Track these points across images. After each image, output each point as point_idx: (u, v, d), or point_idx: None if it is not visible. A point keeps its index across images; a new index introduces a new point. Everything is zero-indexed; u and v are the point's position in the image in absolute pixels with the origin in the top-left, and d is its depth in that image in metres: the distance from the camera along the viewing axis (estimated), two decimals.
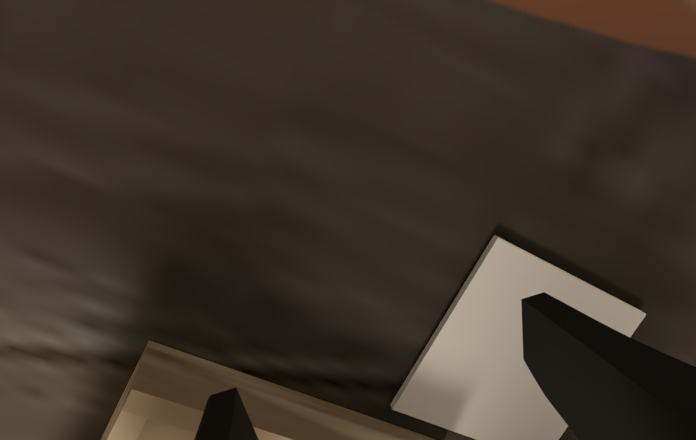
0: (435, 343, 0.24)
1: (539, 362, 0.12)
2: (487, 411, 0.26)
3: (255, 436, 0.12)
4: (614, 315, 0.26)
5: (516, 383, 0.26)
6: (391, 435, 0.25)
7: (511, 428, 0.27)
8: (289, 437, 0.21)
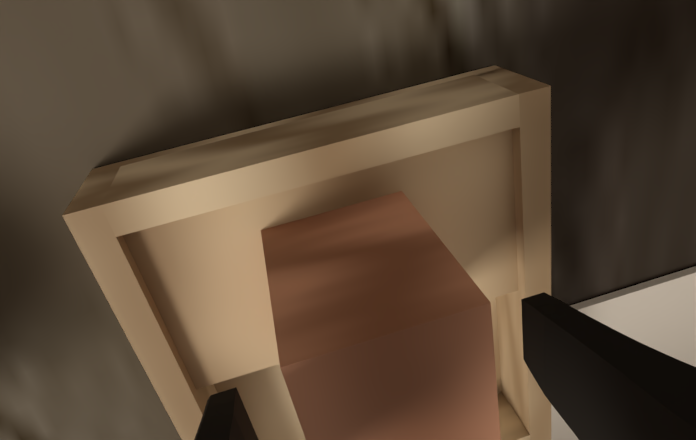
0: (613, 300, 0.24)
1: (539, 362, 0.12)
2: None
3: (255, 436, 0.12)
4: None
5: None
6: None
7: (558, 415, 0.27)
8: (550, 268, 0.18)
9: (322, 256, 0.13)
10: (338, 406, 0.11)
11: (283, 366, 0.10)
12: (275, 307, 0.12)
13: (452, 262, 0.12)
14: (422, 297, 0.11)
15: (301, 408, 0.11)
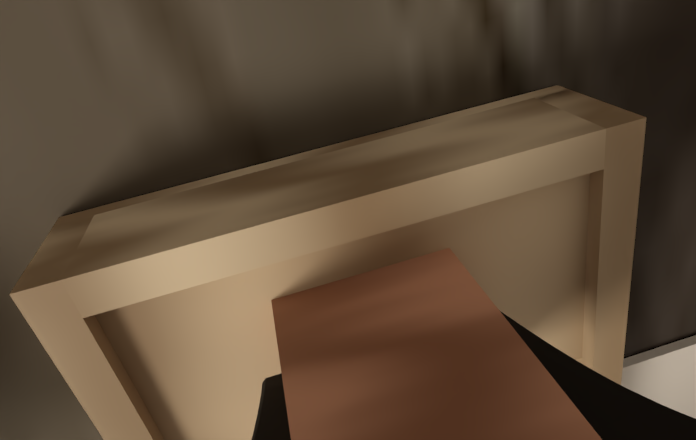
0: (676, 352, 0.20)
1: None
2: None
3: None
4: None
5: None
6: None
7: None
8: (624, 333, 0.15)
9: (355, 348, 0.10)
10: None
11: None
12: (295, 436, 0.09)
13: (539, 371, 0.09)
14: (506, 435, 0.08)
15: None
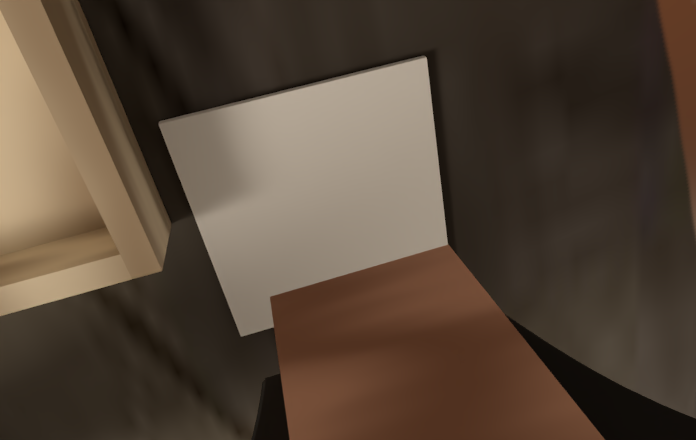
0: (272, 99, 0.18)
1: None
2: (246, 229, 0.20)
3: None
4: (430, 248, 0.23)
5: (298, 229, 0.21)
6: (131, 146, 0.17)
7: (250, 271, 0.21)
8: None
9: (353, 345, 0.10)
10: None
11: None
12: (293, 432, 0.08)
13: (538, 367, 0.09)
14: (505, 431, 0.08)
15: None
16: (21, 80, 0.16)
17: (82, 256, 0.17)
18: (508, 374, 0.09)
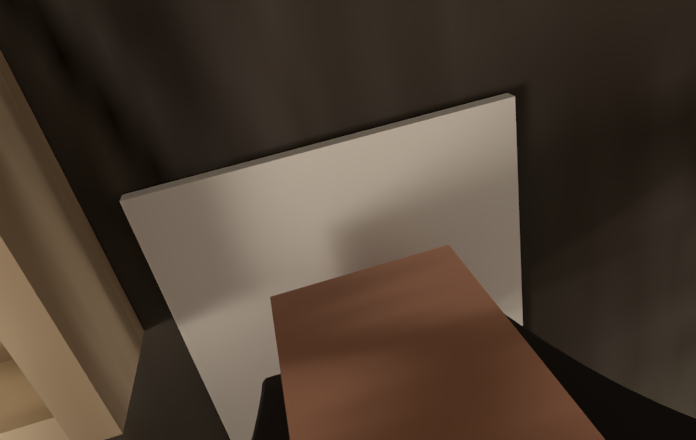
0: (290, 162, 0.12)
1: None
2: (250, 337, 0.14)
3: None
4: None
5: None
6: (76, 237, 0.11)
7: (256, 388, 0.15)
8: None
9: (354, 345, 0.10)
10: None
11: None
12: (294, 432, 0.08)
13: (539, 367, 0.09)
14: (506, 431, 0.08)
15: None
16: None
17: None
18: (508, 374, 0.09)
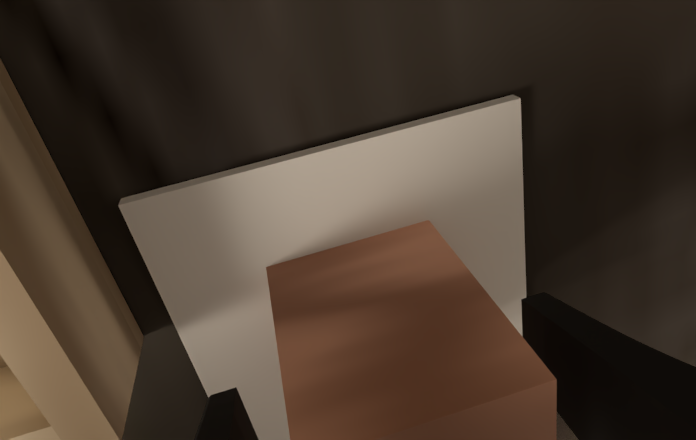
0: (291, 165, 0.12)
1: None
2: (251, 342, 0.14)
3: (255, 436, 0.12)
4: None
5: None
6: (74, 242, 0.11)
7: (257, 394, 0.15)
8: None
9: (340, 304, 0.11)
10: None
11: None
12: (285, 375, 0.10)
13: (500, 319, 0.10)
14: (468, 368, 0.09)
15: None
16: None
17: None
18: (474, 324, 0.10)
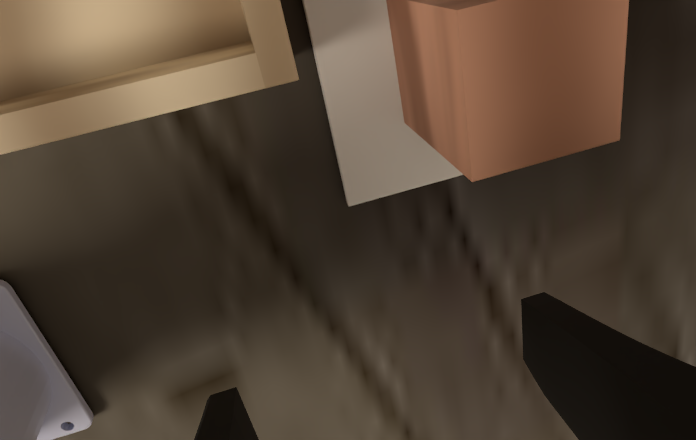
0: None
1: (539, 362, 0.12)
2: (367, 69, 0.18)
3: (255, 436, 0.12)
4: None
5: None
6: None
7: (366, 124, 0.19)
8: None
9: None
10: (496, 66, 0.13)
11: (459, 10, 0.12)
12: (430, 3, 0.14)
13: None
14: None
15: (466, 63, 0.12)
16: None
17: (208, 60, 0.14)
18: None
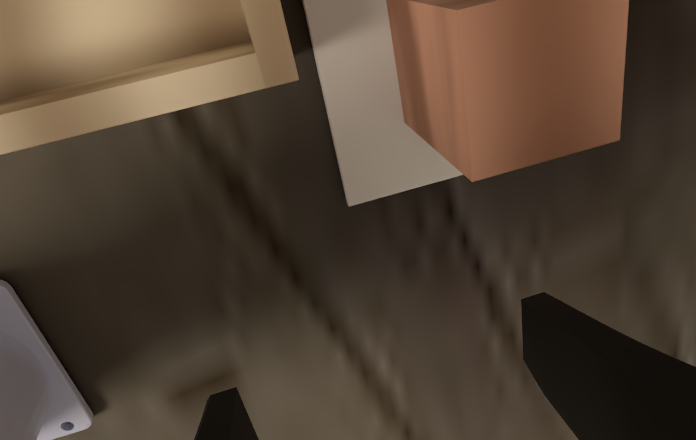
0: None
1: (539, 362, 0.12)
2: (367, 69, 0.18)
3: (255, 436, 0.12)
4: None
5: None
6: None
7: (366, 124, 0.19)
8: None
9: None
10: (496, 66, 0.13)
11: (459, 10, 0.12)
12: (430, 3, 0.14)
13: None
14: None
15: (466, 63, 0.12)
16: None
17: (208, 60, 0.14)
18: None
